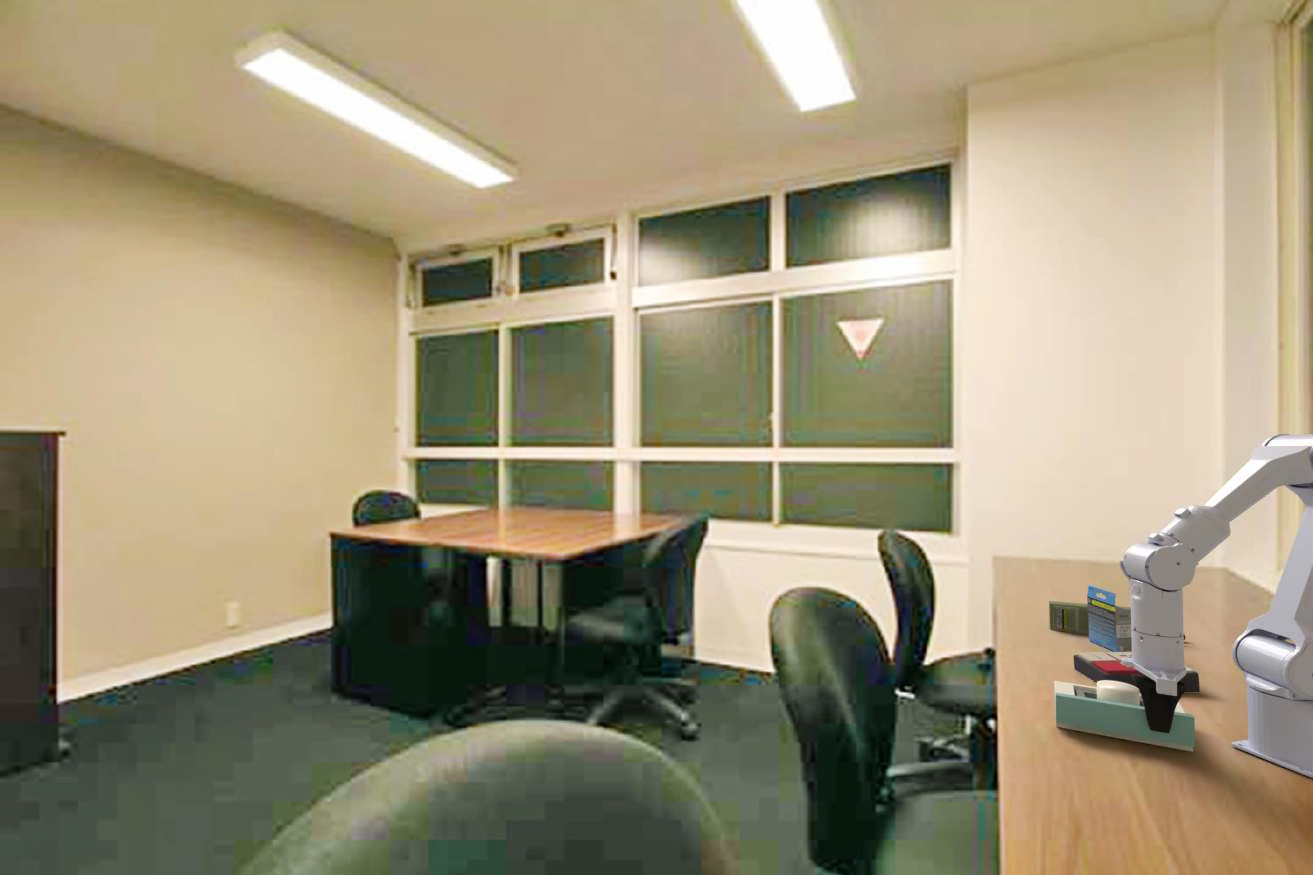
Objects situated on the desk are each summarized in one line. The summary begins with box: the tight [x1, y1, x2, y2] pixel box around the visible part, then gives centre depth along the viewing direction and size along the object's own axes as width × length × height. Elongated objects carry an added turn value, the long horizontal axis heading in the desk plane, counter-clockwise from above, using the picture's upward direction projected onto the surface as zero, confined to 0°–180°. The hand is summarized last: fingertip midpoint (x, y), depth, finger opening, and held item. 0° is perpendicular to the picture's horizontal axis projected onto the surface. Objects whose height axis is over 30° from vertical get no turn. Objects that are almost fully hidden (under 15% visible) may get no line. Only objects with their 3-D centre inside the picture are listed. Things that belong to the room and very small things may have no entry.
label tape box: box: [1086, 584, 1132, 652], centre depth 135 cm, size 9×4×12 cm, turn 0°
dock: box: [1053, 680, 1194, 753], centre depth 97 cm, size 11×16×4 cm
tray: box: [1055, 689, 1196, 748], centre depth 96 cm, size 11×16×4 cm
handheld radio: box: [1048, 600, 1186, 641], centre depth 143 cm, size 7×3×25 cm
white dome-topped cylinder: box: [1096, 680, 1140, 706], centre depth 96 cm, size 5×5×4 cm
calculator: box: [1073, 651, 1201, 693], centre depth 115 cm, size 11×4×15 cm
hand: (1159, 730), depth 88 cm, fingers closed
